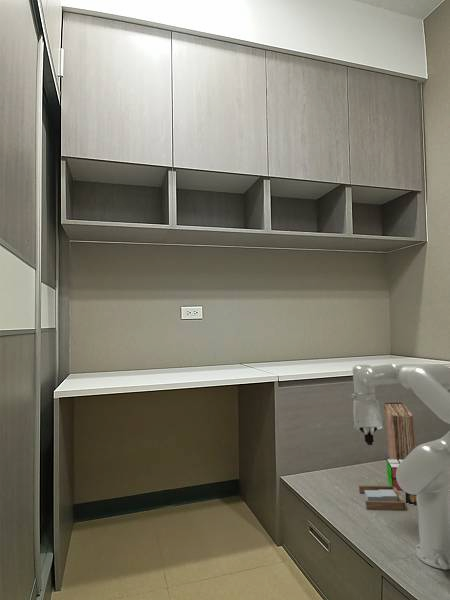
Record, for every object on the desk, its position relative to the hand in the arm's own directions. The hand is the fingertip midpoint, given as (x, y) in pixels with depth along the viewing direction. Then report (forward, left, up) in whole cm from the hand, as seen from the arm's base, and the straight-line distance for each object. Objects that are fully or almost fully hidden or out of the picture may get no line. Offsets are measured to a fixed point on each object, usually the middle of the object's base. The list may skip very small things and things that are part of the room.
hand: (369, 444), depth 147 cm
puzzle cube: (+30, -18, -29) cm, 45 cm away
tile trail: (+14, -3, -29) cm, 32 cm away
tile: (+15, -9, -29) cm, 34 cm away
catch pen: (+15, -6, -29) cm, 33 cm away
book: (+50, -24, -29) cm, 62 cm away
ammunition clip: (+12, -20, -29) cm, 37 cm away
